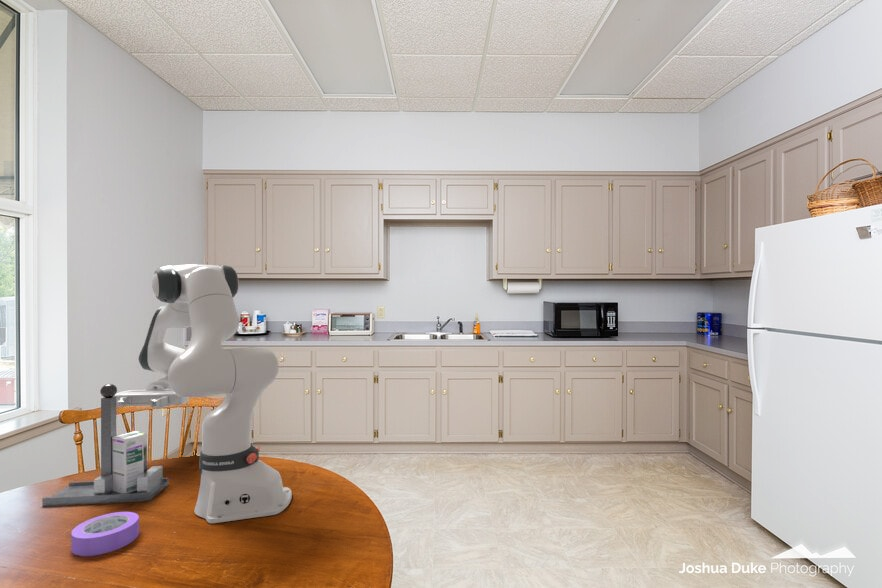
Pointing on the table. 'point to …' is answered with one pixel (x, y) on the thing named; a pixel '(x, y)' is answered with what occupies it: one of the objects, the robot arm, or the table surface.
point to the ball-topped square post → (106, 439)
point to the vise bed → (84, 492)
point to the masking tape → (104, 533)
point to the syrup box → (128, 460)
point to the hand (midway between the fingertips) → (137, 403)
